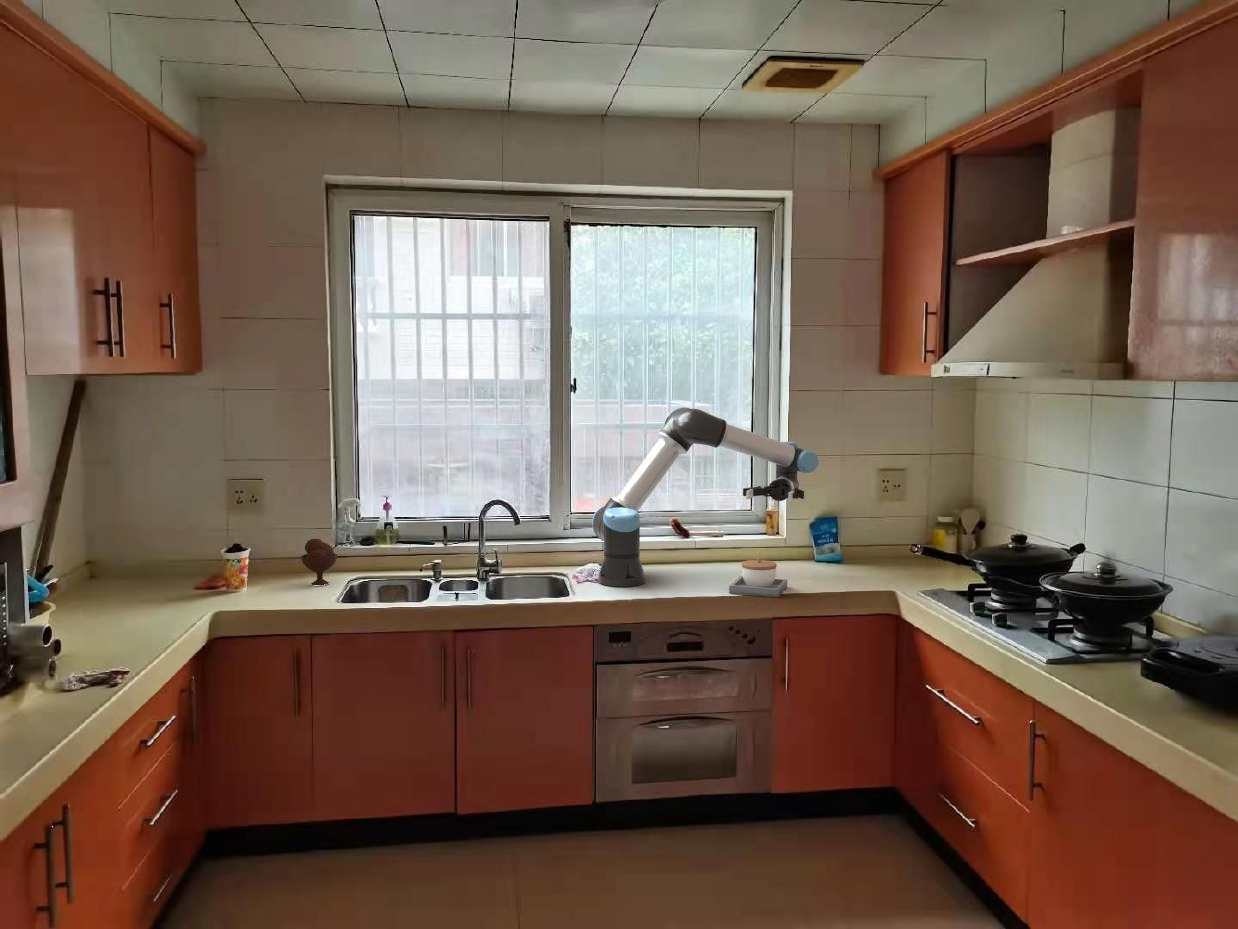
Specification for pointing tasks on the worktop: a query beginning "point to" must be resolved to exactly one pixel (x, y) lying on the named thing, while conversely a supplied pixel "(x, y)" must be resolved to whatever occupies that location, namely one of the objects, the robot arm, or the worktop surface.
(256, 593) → the worktop surface
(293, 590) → the worktop surface
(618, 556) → the robot arm
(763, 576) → the lidded jar
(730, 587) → the tray
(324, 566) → the ice cream bowl
